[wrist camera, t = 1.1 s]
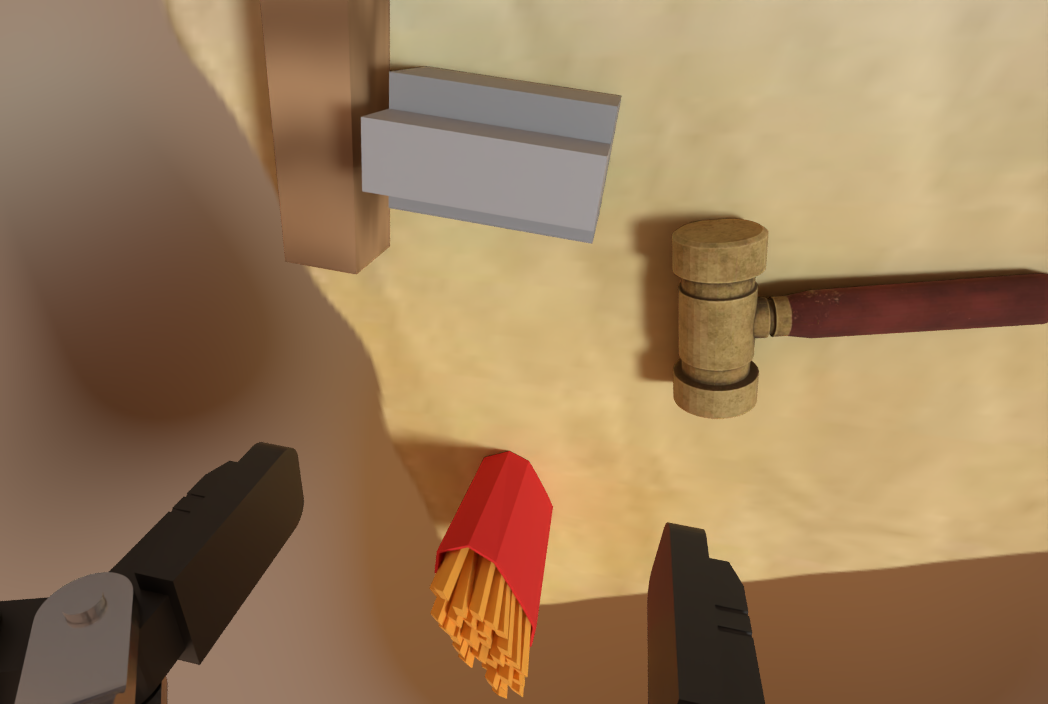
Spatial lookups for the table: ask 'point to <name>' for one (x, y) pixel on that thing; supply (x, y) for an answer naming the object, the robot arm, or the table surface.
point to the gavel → (805, 311)
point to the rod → (327, 125)
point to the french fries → (495, 569)
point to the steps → (491, 151)
